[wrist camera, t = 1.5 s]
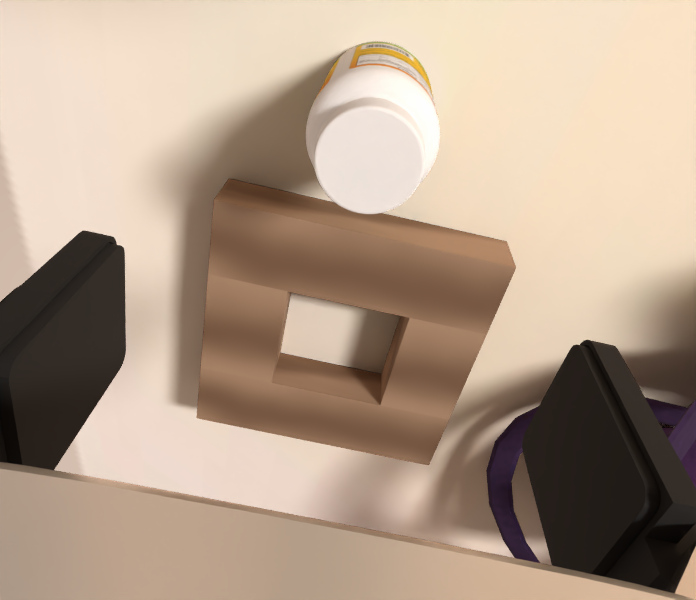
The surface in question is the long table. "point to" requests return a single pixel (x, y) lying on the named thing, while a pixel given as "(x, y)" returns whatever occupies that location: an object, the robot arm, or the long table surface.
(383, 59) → the supplement bottle
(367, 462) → the long table surface
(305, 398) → the socket block
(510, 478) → the purple looped device
